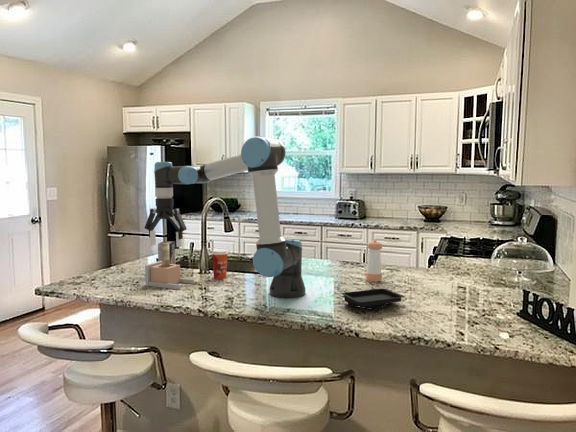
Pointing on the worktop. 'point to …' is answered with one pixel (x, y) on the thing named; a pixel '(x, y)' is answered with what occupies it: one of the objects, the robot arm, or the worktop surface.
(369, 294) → the tray
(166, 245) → the dowel
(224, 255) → the paper cup
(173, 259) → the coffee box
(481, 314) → the worktop surface
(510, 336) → the worktop surface
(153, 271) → the block
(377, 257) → the pepper shaker
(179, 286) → the mat with wall
